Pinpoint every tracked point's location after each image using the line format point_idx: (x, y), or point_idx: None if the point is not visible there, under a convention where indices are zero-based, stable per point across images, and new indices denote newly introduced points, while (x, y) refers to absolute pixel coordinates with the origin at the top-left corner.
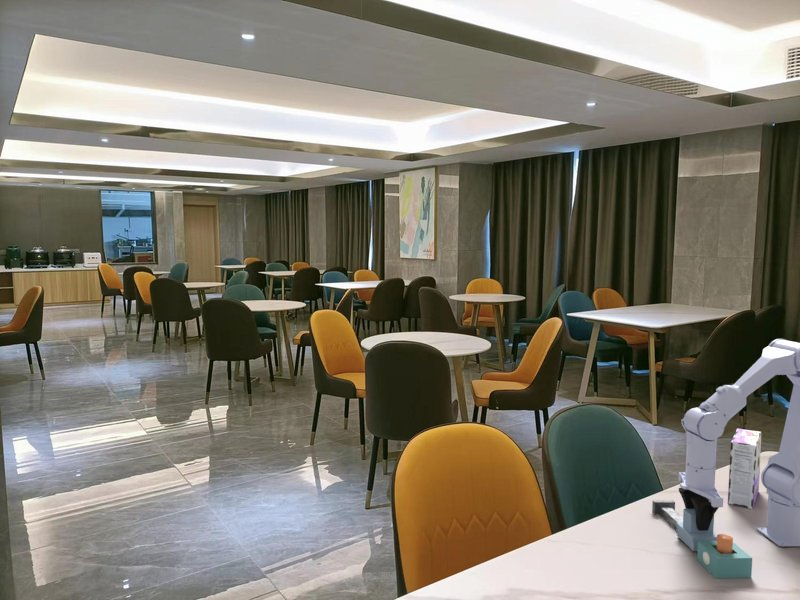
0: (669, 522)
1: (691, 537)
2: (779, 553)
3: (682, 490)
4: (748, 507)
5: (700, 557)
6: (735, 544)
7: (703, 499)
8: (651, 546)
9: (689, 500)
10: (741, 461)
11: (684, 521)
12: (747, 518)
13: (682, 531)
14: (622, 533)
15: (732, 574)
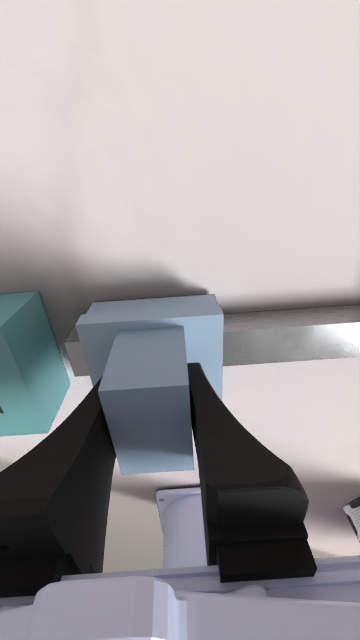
0: (323, 308)
1: (87, 321)
2: (127, 479)
3: (241, 499)
4: (349, 506)
5: (8, 301)
6: (20, 433)
7: (9, 565)
8: (123, 139)
9: (200, 456)
10: None
11: (170, 343)
12: None
13: (164, 311)
14: (270, 4)
15: None
